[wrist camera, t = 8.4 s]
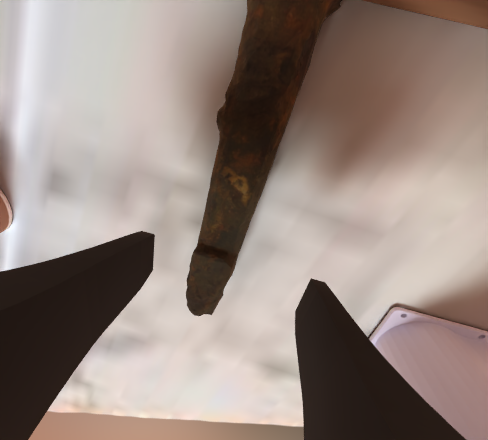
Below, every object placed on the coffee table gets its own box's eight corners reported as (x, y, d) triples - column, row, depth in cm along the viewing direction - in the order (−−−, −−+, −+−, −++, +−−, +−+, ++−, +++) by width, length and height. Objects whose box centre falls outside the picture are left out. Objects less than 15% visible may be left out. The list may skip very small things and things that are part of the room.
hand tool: (258, -25, 12) (243, -134, 7) (337, 6, 12) (381, -80, 7) (181, 272, 22) (151, 316, 17) (224, 288, 22) (208, 337, 17)
